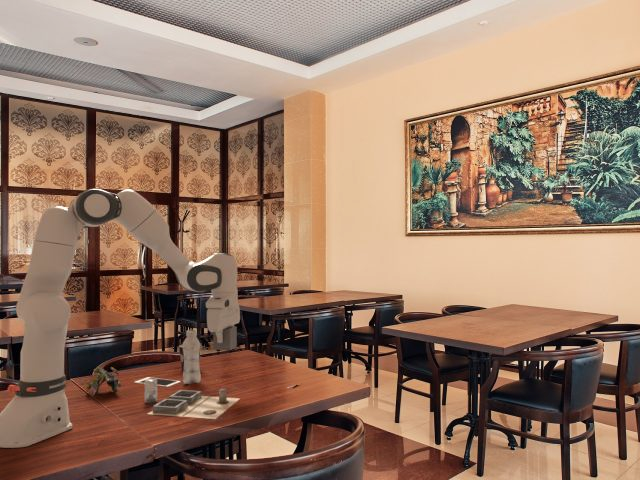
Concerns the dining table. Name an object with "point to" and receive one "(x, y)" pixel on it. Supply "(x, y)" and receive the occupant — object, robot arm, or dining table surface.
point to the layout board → (194, 405)
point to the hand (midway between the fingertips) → (225, 340)
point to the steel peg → (150, 390)
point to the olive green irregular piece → (106, 377)
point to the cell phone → (159, 382)
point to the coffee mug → (183, 356)
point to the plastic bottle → (191, 358)
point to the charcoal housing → (226, 339)
